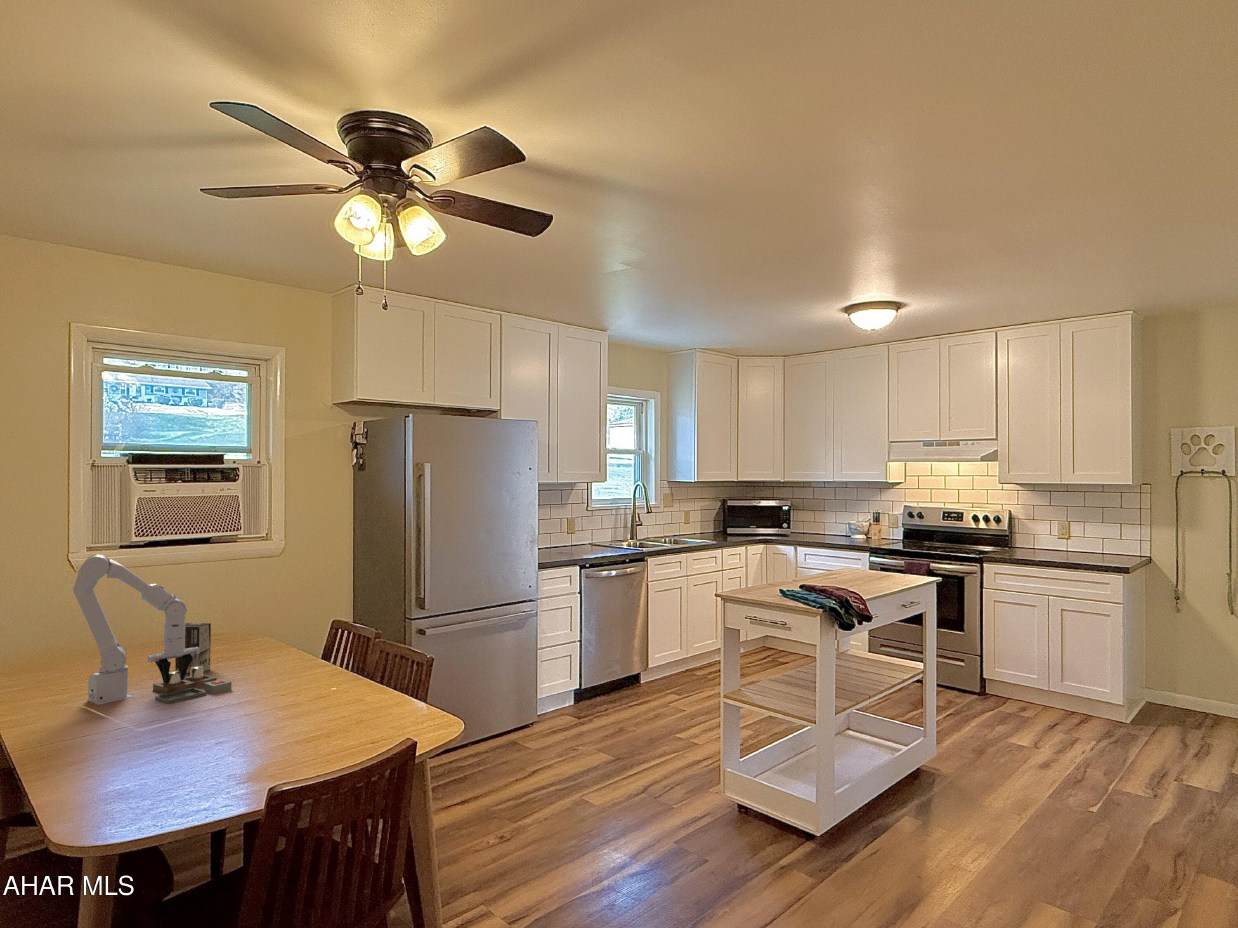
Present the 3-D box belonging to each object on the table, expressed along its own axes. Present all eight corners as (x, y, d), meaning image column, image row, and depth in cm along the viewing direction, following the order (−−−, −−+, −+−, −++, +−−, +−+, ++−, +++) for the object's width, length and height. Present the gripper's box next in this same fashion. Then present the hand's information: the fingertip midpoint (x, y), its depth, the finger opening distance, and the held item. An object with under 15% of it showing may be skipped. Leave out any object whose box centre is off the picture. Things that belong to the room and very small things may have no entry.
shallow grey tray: (168, 705, 215) (168, 700, 215) (155, 700, 220) (155, 695, 220) (206, 696, 224) (206, 691, 224) (193, 692, 229) (193, 687, 229)
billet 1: (170, 694, 227) (169, 674, 227) (165, 692, 229) (165, 673, 229) (182, 691, 229) (182, 672, 230) (178, 689, 232) (178, 670, 232)
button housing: (213, 695, 225) (213, 685, 225) (203, 692, 228) (204, 682, 228) (231, 691, 230) (231, 681, 230) (222, 688, 233) (222, 678, 233)
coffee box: (211, 668, 256) (212, 622, 257) (198, 673, 250) (199, 626, 250) (186, 668, 257) (187, 622, 258) (174, 672, 251) (174, 625, 251)
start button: (215, 691, 227) (216, 683, 227) (211, 689, 229) (212, 682, 229) (223, 689, 229) (223, 681, 229) (219, 687, 231) (219, 680, 231)
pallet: (166, 696, 224) (167, 688, 224) (153, 691, 229) (153, 683, 229) (216, 685, 236) (216, 677, 236) (202, 680, 241) (202, 673, 241)
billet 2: (193, 688, 233) (194, 669, 233) (188, 686, 235) (188, 667, 235) (205, 685, 236) (205, 667, 236) (199, 683, 238) (199, 665, 238)
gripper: (155, 643, 222) (154, 688, 221) (204, 635, 234) (204, 677, 233) (144, 640, 226) (143, 684, 225) (193, 632, 238) (192, 674, 237)
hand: (173, 680), depth 230 cm, fingers open, 4 cm apart
